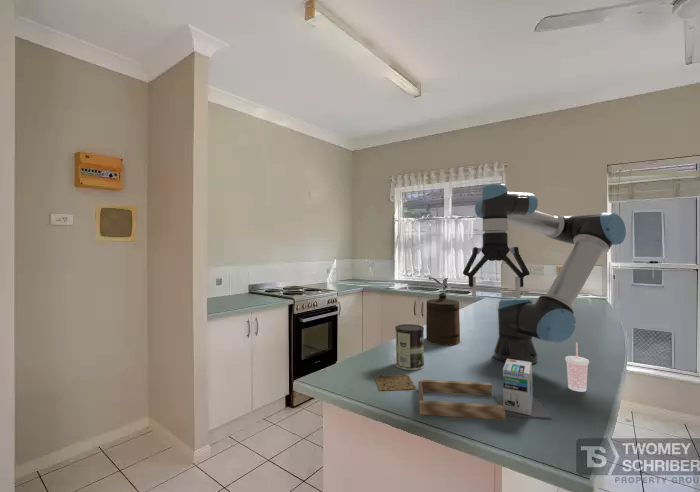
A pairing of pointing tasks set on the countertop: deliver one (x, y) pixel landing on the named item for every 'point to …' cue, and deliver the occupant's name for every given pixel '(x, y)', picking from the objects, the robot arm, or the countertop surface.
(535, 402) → the rubber mat
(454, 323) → the wooden container
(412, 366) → the coffee can
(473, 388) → the oak open-sided frame
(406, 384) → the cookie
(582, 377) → the beverage cup
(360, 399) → the countertop surface
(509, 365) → the light bulb box
